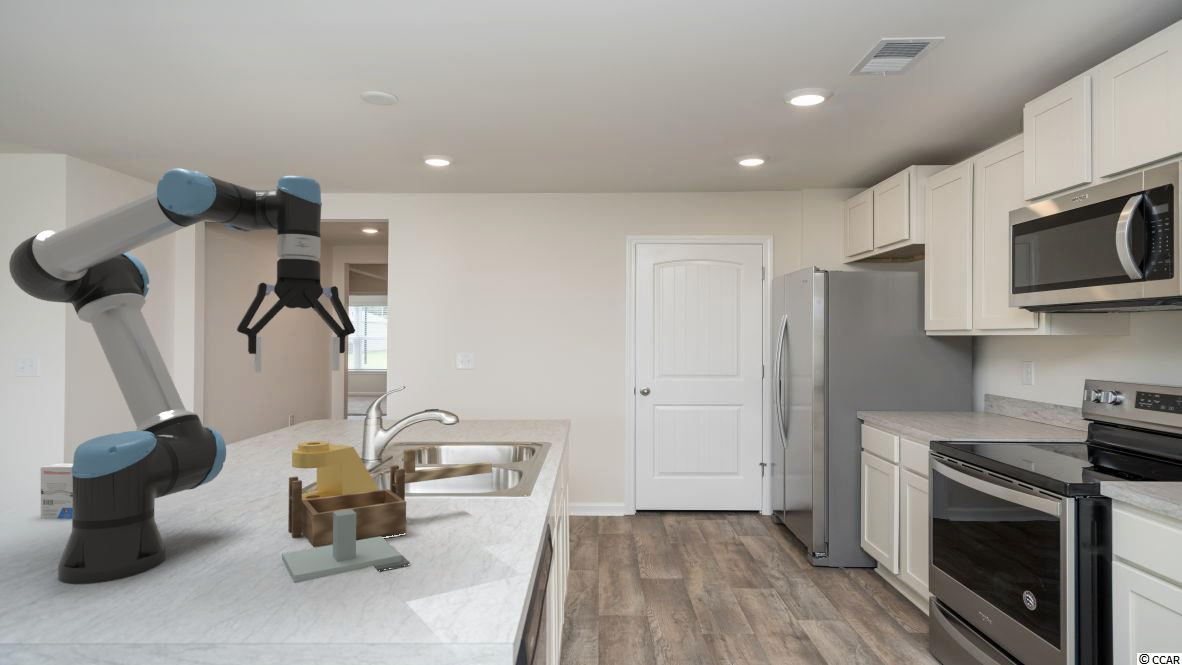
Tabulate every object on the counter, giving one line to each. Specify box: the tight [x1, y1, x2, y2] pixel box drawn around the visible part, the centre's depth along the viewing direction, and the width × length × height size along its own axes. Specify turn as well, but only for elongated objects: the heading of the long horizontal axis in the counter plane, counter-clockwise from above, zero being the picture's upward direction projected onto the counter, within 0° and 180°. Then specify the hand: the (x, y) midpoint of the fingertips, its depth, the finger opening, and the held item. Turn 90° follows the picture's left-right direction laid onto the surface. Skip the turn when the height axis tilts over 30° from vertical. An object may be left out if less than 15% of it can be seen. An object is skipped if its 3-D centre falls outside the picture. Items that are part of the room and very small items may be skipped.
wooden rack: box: [287, 464, 407, 548], centre depth 131 cm, size 23×14×12 cm, turn 124°
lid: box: [281, 509, 403, 583], centre depth 114 cm, size 18×13×9 cm
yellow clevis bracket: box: [291, 440, 378, 500], centre depth 153 cm, size 20×9×16 cm, turn 152°
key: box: [395, 448, 493, 484], centre depth 147 cm, size 23×2×7 cm, turn 124°
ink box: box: [40, 462, 73, 520], centre depth 143 cm, size 9×5×12 cm, turn 84°
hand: (297, 371), depth 119 cm, fingers open, 13 cm apart
